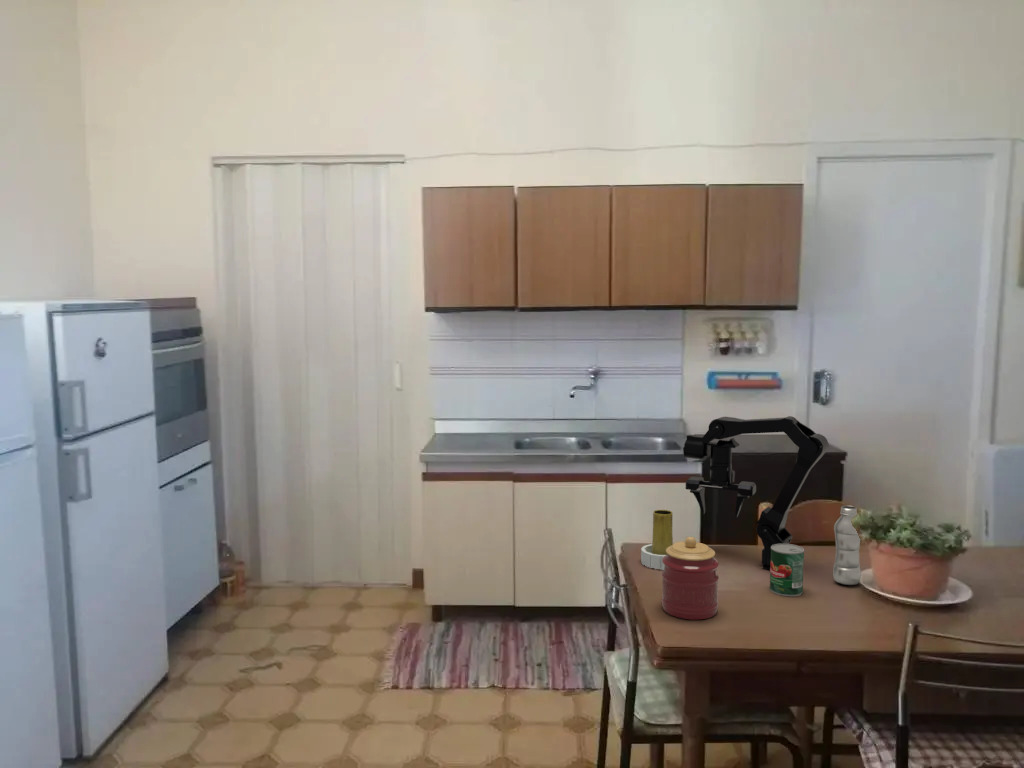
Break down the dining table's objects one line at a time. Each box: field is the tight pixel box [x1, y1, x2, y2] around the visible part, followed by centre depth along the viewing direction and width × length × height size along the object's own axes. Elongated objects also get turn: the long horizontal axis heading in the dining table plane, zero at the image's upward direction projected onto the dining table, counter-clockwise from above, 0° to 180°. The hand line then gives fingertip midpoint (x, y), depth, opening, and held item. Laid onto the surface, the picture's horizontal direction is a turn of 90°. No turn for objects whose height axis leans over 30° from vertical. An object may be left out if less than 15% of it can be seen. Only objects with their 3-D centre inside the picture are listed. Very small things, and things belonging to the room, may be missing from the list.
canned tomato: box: [769, 543, 805, 597], centre depth 191 cm, size 8×8×11 cm
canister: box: [661, 536, 720, 621], centre depth 179 cm, size 13×13×18 cm
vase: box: [651, 509, 674, 555], centre depth 212 cm, size 6×6×14 cm
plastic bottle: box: [832, 505, 862, 586], centre depth 195 cm, size 6×7×20 cm
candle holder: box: [640, 543, 666, 571], centre depth 212 cm, size 11×11×4 cm
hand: (719, 515), depth 217 cm, fingers open, 9 cm apart
